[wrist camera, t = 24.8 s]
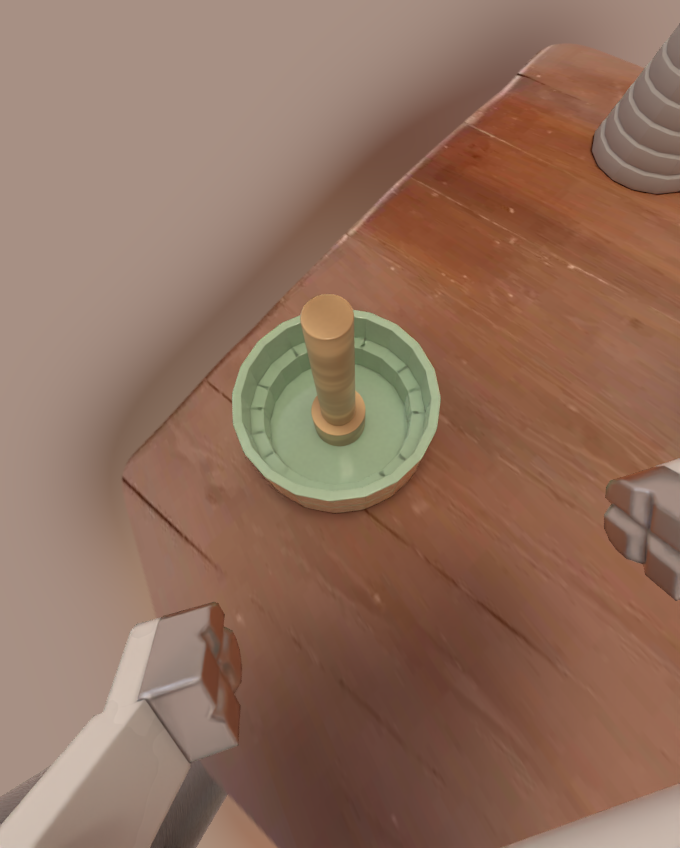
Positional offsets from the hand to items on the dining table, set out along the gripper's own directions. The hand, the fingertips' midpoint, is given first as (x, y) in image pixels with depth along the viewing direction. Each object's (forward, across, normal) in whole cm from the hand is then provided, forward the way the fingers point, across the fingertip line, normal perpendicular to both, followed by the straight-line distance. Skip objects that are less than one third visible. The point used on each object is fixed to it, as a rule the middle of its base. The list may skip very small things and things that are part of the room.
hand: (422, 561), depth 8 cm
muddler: (+27, -1, +9) cm, 28 cm away
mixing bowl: (+27, -1, +9) cm, 29 cm away
